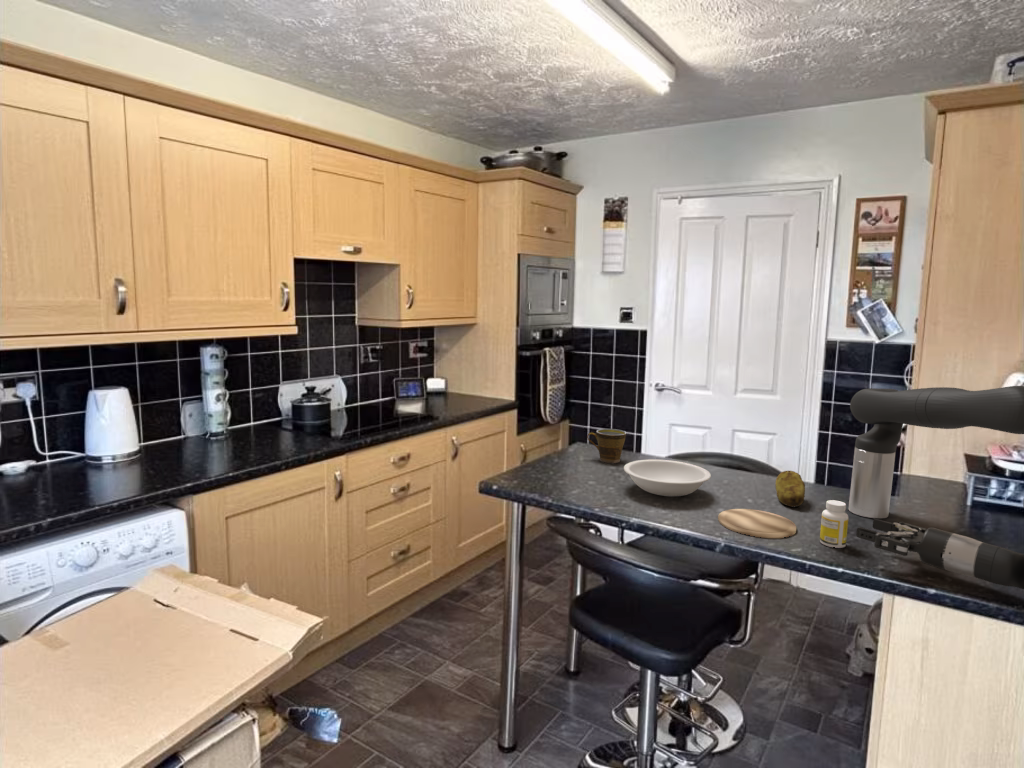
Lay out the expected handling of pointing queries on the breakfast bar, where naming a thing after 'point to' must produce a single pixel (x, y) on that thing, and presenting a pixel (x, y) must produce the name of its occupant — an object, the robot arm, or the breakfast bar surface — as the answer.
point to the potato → (790, 488)
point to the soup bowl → (667, 476)
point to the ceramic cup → (609, 444)
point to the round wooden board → (757, 523)
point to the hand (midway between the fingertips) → (865, 527)
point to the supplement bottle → (834, 524)
